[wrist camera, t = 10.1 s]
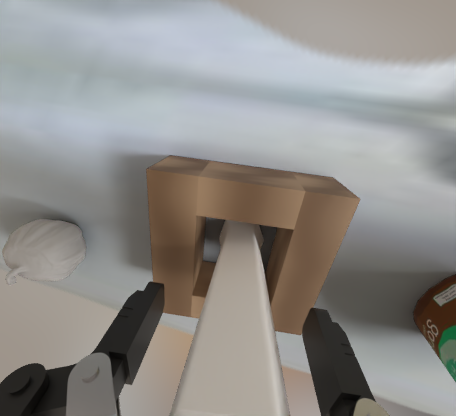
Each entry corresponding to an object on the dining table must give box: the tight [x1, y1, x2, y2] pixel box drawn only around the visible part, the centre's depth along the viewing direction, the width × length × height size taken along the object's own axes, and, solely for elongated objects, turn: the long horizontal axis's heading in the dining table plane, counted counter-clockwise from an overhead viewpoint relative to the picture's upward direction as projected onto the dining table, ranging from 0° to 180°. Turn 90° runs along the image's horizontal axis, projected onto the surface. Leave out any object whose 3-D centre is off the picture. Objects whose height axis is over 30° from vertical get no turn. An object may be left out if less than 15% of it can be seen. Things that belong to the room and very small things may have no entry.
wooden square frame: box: [146, 155, 360, 335], centre depth 16 cm, size 12×12×4 cm
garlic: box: [2, 219, 86, 285], centre depth 17 cm, size 6×5×5 cm
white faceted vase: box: [169, 220, 290, 416], centre depth 11 cm, size 5×4×15 cm
